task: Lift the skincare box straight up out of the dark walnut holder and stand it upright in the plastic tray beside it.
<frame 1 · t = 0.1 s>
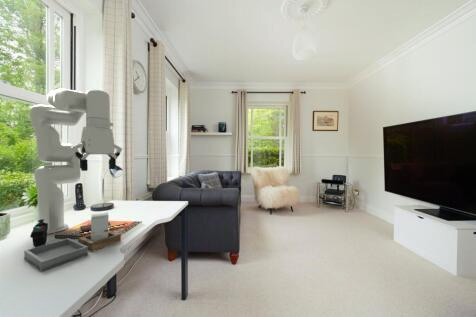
hand: (98, 169, 80), 31 cm above the table, tool pointing down, fingers open, 9 cm apart
tray: (56, 256, 76), on the table
controller: (40, 247, 84), on the table
holder: (100, 243, 87), on the table
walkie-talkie: (103, 230, 105), on the table
skincare box: (100, 243, 88), resting in holder
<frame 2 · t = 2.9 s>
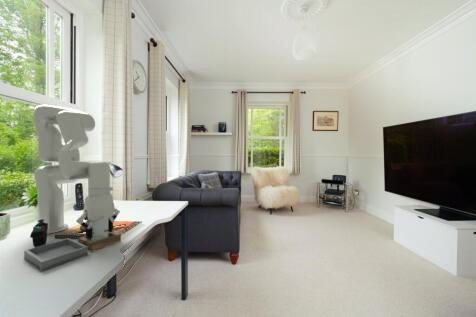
hand: (99, 234, 87), 4 cm above the table, tool pointing down, fingers closed on skincare box, 7 cm apart
skincare box: (100, 243, 88), resting in holder, touching gripper
everything else where it was.
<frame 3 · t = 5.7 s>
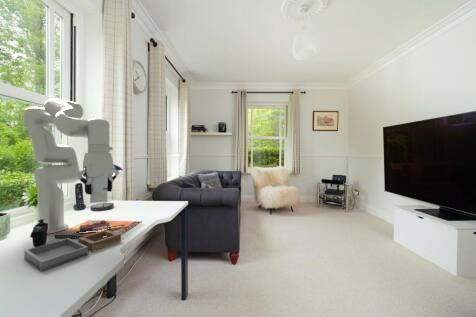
hand: (99, 192, 87), 21 cm above the table, tool pointing down, fingers closed on skincare box, 7 cm apart
skincare box: (99, 202, 87), point 17 cm above the table, touching gripper
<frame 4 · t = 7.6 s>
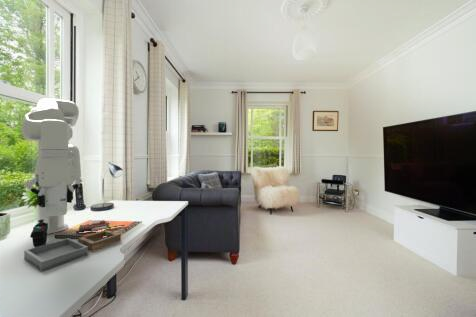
hand: (56, 204, 76), 19 cm above the table, tool pointing down, fingers closed on skincare box, 7 cm apart
skincare box: (56, 215, 76), point 15 cm above the table, touching gripper
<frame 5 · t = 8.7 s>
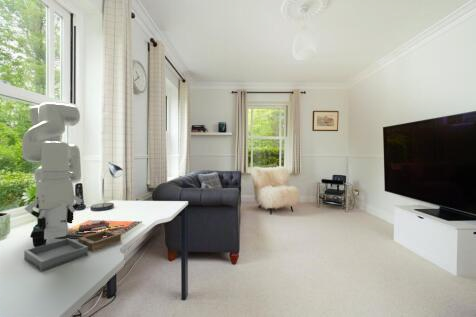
hand: (56, 225, 76), 11 cm above the table, tool pointing down, fingers closed on skincare box, 7 cm apart
skincare box: (56, 236, 76), point 7 cm above the table, touching gripper
everything else where it was.
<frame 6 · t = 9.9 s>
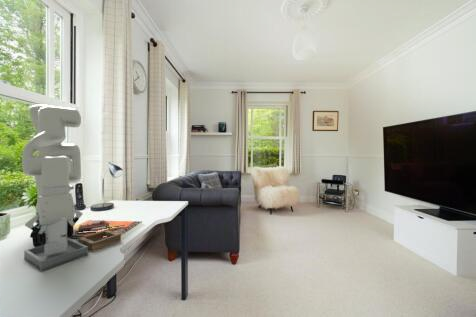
hand: (56, 239, 76), 6 cm above the table, tool pointing down, fingers closed on skincare box, 7 cm apart
skincare box: (56, 250, 76), point 2 cm above the table, touching gripper
everything else where it was.
when the fingers open (6 cm above the table, at t = 10.3 s): skincare box drops 1 cm, resting on tray.
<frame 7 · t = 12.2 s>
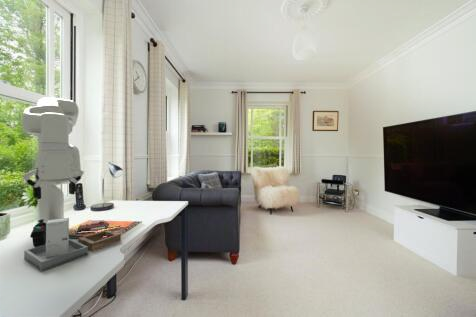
hand: (55, 196, 76), 22 cm above the table, tool pointing down, fingers open, 9 cm apart
skincare box: (58, 254, 76), point 1 cm above the table, touching tray
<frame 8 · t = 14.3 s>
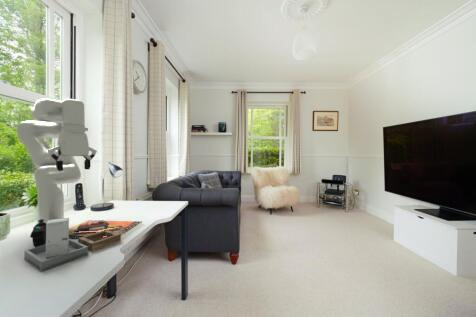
hand: (74, 169, 90), 30 cm above the table, tool pointing down, fingers open, 9 cm apart
at the end: skincare box inside the target area on the tray (0.4 cm from its centre), point 0.8 cm above the tray's base; skincare box tilted 0°; the gripper is holding nothing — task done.
